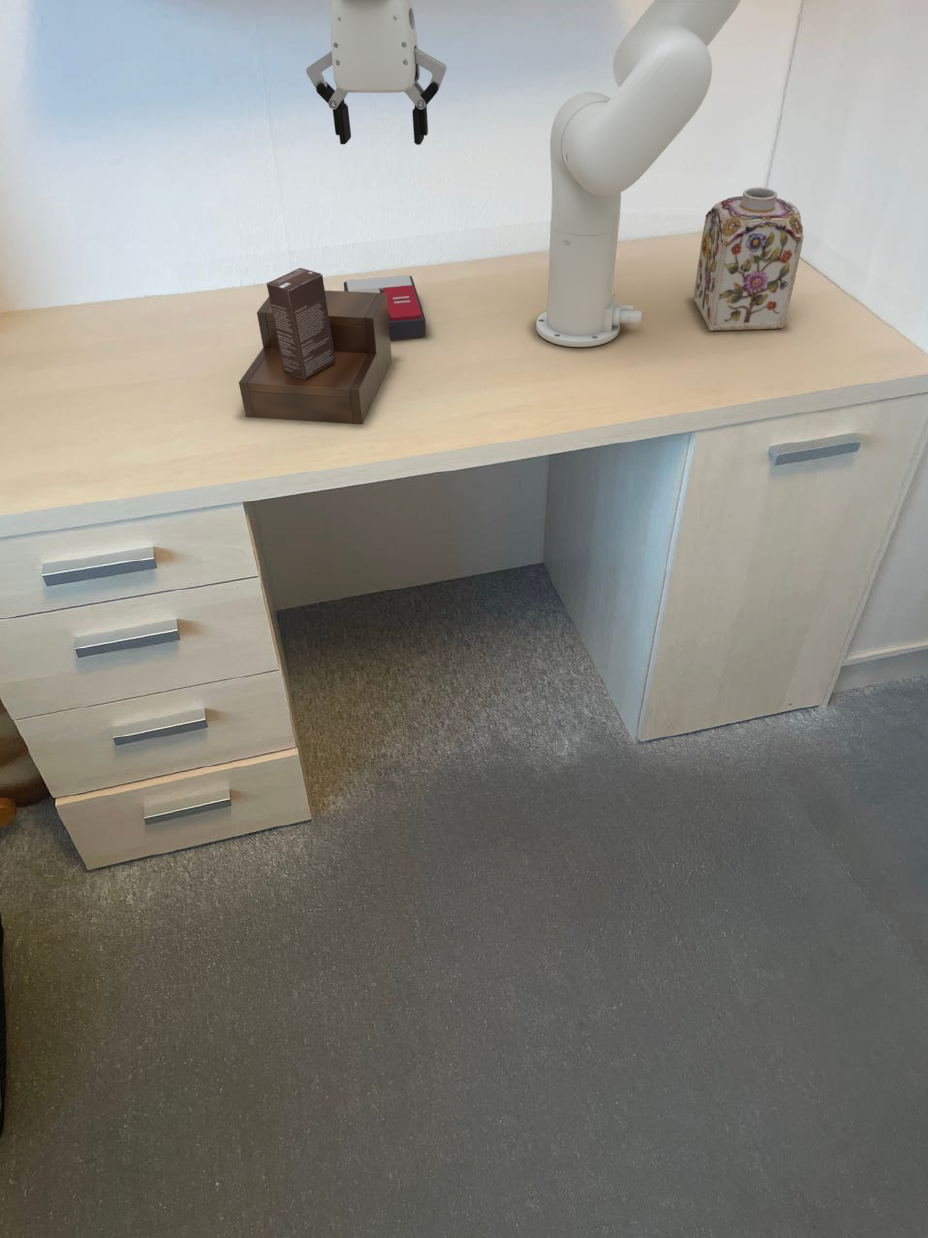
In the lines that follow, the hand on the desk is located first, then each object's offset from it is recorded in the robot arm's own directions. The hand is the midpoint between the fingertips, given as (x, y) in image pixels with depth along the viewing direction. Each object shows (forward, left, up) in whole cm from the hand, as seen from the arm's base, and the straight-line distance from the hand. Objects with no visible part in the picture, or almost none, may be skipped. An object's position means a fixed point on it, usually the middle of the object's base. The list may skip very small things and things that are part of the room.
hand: (382, 141), depth 116 cm
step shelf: (+8, +12, -28) cm, 32 cm away
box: (+8, +18, -23) cm, 30 cm away
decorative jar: (-50, -17, -28) cm, 60 cm away
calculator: (+4, -9, -28) cm, 30 cm away
